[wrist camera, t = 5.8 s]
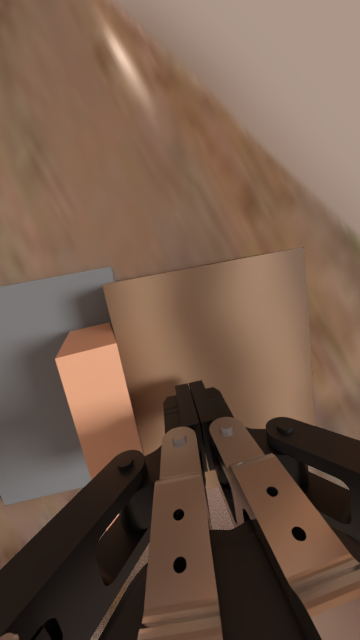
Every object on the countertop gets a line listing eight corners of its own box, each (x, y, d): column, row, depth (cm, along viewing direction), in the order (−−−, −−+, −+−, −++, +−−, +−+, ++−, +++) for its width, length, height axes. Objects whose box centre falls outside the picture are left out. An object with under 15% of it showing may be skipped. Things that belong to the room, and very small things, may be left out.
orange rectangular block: (116, 342, 10) (54, 358, 10) (155, 507, 12) (106, 530, 12) (109, 322, 16) (69, 331, 15) (137, 437, 18) (103, 450, 17)
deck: (269, 253, 17) (303, 247, 13) (286, 424, 20) (318, 462, 16) (115, 281, 16) (102, 284, 12) (156, 454, 19) (156, 501, 15)
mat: (111, 266, 16) (110, 266, 16) (158, 465, 19) (158, 469, 19) (-75, 300, 15) (-81, 301, 15) (7, 500, 19) (4, 505, 18)
